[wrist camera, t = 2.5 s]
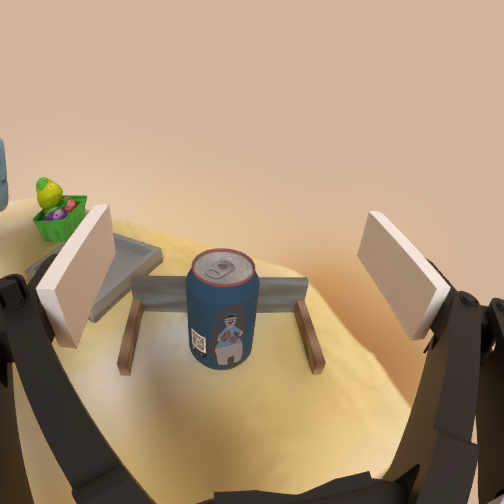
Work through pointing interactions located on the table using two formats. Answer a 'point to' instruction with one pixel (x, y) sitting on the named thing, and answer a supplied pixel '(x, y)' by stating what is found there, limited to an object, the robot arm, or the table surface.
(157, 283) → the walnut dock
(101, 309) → the grey tray
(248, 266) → the soda can
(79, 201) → the fruit basket
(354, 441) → the table surface
